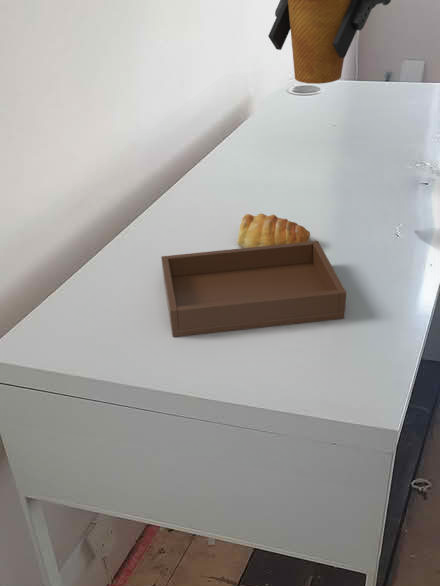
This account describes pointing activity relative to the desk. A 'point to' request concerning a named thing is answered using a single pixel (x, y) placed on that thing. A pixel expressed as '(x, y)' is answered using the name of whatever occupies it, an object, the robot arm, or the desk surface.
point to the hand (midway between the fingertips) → (305, 46)
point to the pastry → (269, 231)
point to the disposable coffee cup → (316, 39)
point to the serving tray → (251, 288)
